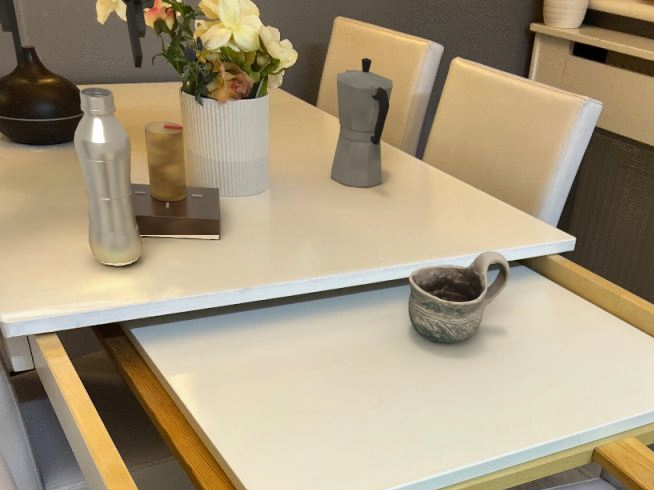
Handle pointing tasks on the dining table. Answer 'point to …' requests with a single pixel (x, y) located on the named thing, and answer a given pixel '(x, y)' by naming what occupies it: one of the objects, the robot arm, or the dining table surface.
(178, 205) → the dark brown flat block
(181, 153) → the candle
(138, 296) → the dining table surface
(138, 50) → the robot arm
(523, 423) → the dining table surface
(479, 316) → the mug
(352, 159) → the coffeepot
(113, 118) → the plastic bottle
